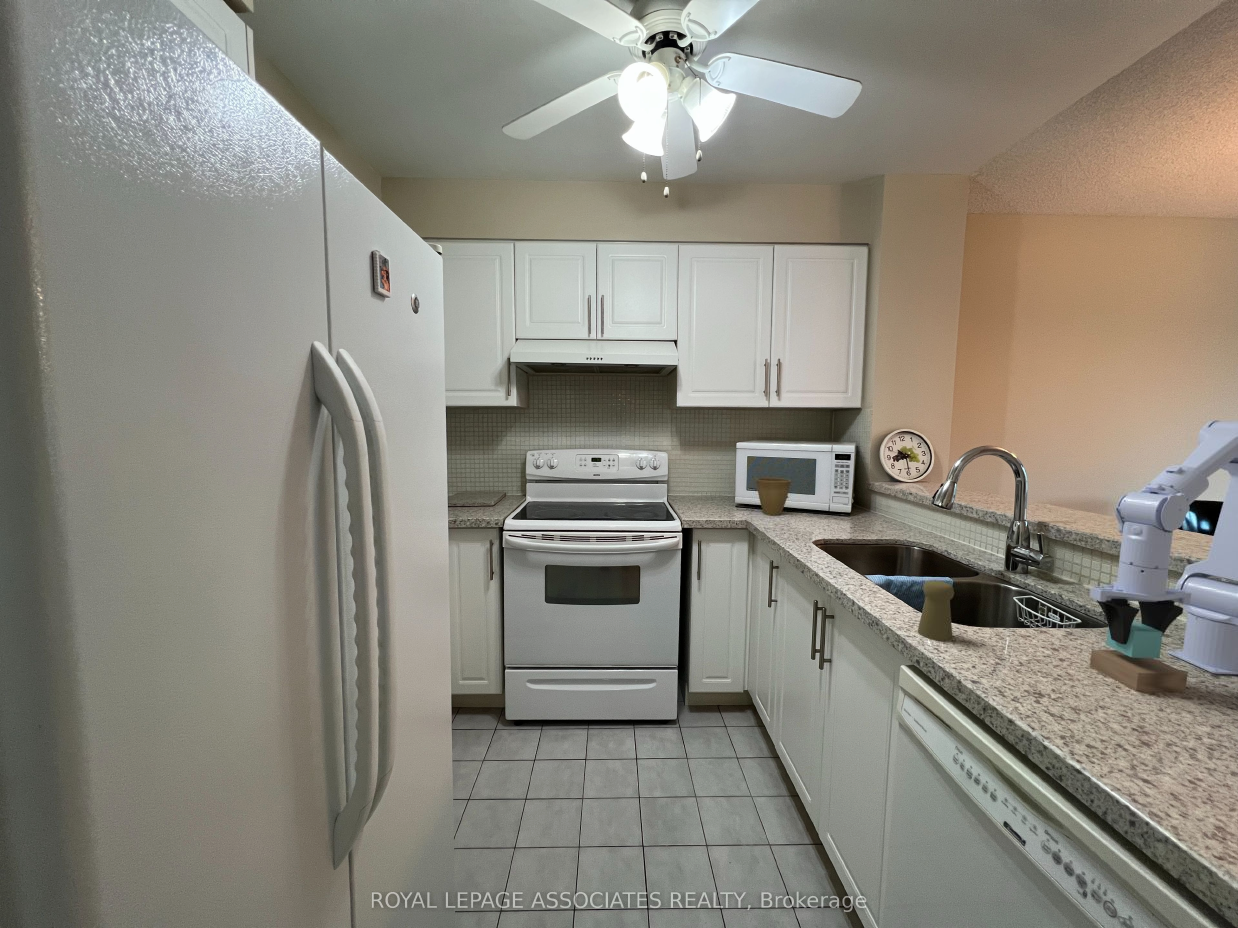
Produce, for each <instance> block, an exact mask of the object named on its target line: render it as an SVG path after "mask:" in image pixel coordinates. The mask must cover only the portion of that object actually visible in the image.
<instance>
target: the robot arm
mask: <svg viewBox="0 0 1238 928" xmlns="http://www.w3.org/2000/svg"><path fill="white" fill-rule="evenodd" d="M1197 437H1198V438H1197V444H1198V445H1197V447H1196V448H1195V449H1194V450H1193V451H1192V452H1191V454H1189V456H1188V457H1187V458H1186V459H1185V460H1184V461H1183V463H1181V464H1180V465H1179V464H1178V465H1176V464H1175V465H1170V466H1168V467H1166V468H1164V469H1163V470H1162V471H1161V472H1160V473H1159V474H1158V475H1157V476H1155V477H1154V478H1153V479H1152V480H1151V481H1149V482H1148V483H1147V484H1146V485H1145V486H1144V487H1143V488H1141V490H1139V491H1131V492H1129V493H1126V494H1123V495H1122V496H1121V497H1120V498H1119V500H1118V502H1117V505H1116V506H1115V508H1114V509H1115V511H1114V512H1115V518H1116V520H1117V522H1118V528H1117V529H1118V532H1119V534H1121V543H1120V552H1119V562H1118V570H1117V577H1116V581H1113V582H1112V584H1107V585H1100V586H1090V589H1089V590H1090V591H1089V598H1091V599H1093V600H1094V601H1096V603H1098V605H1099V607H1100V609H1101V611H1102V612H1103V615H1104V617H1105V620H1106V623H1107V627H1108V626H1109V631H1110V635H1111V639H1112V640H1114V641H1116V642H1118V643H1120V644H1127V642H1128V639H1129V635H1130V629H1131V625H1132V623H1133V621H1135V619H1136V616H1137V615H1138V613H1140V617H1141V622H1140V623H1142V624H1144V625H1146V626H1149V627H1151V628H1154V629H1156V630H1159V631H1161V632H1163V634H1162V637H1163V636H1164V635H1165V632H1166V631H1167V629H1168V628H1169V626H1170V625H1171V624H1172V623H1173V622H1174V621H1175V620H1176V619H1177V618H1178V617H1180V616H1181V615H1183V613H1184V611H1186V612H1187V615H1186V622H1185V631H1184V639H1183V645H1182V650H1171V649H1170V650H1167V652H1166V653H1167V654H1168V655H1171V656H1173V657H1176V658H1178V659H1180V660H1182V661H1185V662H1187V663H1190V664H1192V665H1194V666H1196V667H1198V668H1201V669H1202V670H1205V671H1208V672H1210V673H1212V674H1215V675H1216V674H1217V675H1238V583H1234V582H1238V421H1227V420H1226V421H1223V420H1210V421H1208V422H1207V423H1206V424H1204V425H1203V427H1202V428H1201V429H1199V433H1198V436H1197ZM1221 469H1222V470H1224V471H1227V472H1228V474H1229V476H1230V479H1229V482H1228V486H1227V490H1226V493H1225V496H1224V500H1223V503H1222V505H1221V509H1220V513H1219V517H1218V521H1217V524H1216V527H1215V531H1214V534H1213V537H1212V541H1211V546H1210V549H1209V552H1208V555H1207V558H1206V559H1204V560H1201V561H1197V562H1195V563H1191V564H1188V565H1186V566H1185V569H1184V571H1183V573H1182V576H1181V577H1180V578H1179V579H1178V581H1177V582H1176V585H1175V586H1174V587H1175V588H1167V582H1168V576H1169V567H1170V559H1171V550H1172V544H1173V543H1172V542H1173V535H1174V531H1176V530H1178V529H1179V528H1182V525H1183V524H1184V523H1185V520H1186V517H1187V514H1188V513H1189V511H1190V505H1191V504H1192V503H1193V502H1195V500H1197V499H1198V498H1199V497H1200V496H1201V495H1202V494H1203V493H1204V492H1206V490H1208V488H1209V486H1210V485H1209V484H1210V482H1209V479H1208V478H1209V477H1210V476H1211V475H1213V474H1214V473H1216V472H1218V471H1219V470H1221ZM1211 577H1215V578H1221V579H1225V580H1230V581H1234V582H1228V581H1225V580H1220V579H1215V578H1211ZM1130 602H1138V603H1137V604H1138V606H1139V608H1138V607H1135V606H1132V605H1131V603H1130ZM1175 603H1179V604H1180V605H1181V606H1182V607H1181V606H1179V605H1176V604H1175Z"/></svg>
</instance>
